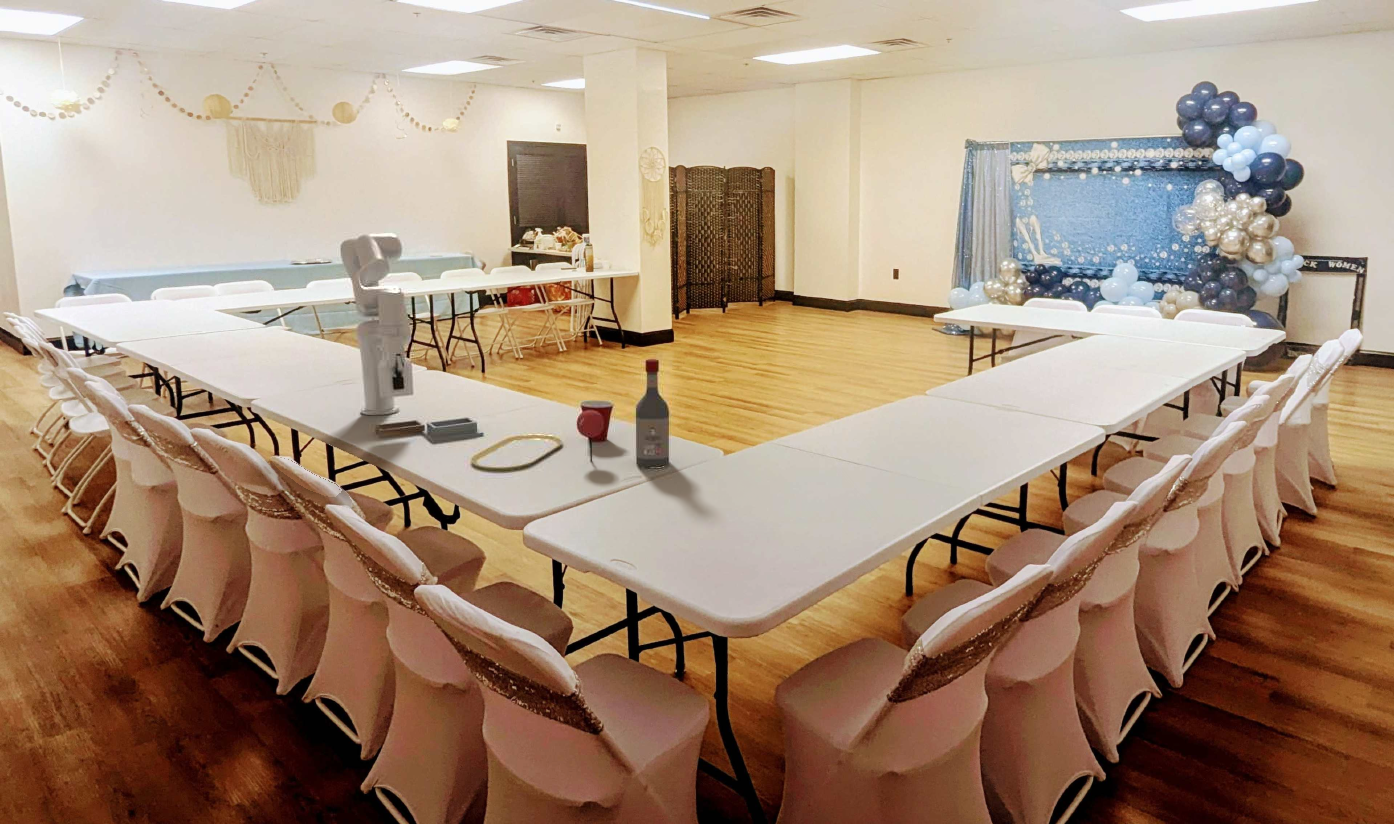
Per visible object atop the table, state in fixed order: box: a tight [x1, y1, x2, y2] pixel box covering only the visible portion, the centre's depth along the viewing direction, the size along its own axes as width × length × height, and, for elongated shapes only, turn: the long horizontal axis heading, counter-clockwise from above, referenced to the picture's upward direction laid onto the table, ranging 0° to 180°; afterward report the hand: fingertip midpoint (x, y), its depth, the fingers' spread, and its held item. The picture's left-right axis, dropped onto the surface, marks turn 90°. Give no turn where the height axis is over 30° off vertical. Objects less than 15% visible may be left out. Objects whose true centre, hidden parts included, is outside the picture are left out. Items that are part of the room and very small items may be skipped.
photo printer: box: [378, 357, 414, 398], centre depth 283 cm, size 10×4×12 cm, turn 123°
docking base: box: [421, 416, 484, 444], centre depth 285 cm, size 12×16×4 cm
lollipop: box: [576, 410, 604, 462], centre depth 258 cm, size 8×8×15 cm
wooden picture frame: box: [374, 419, 426, 439], centre depth 287 cm, size 8×14×2 cm, turn 122°
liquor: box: [635, 358, 670, 469], centre depth 254 cm, size 9×9×30 cm
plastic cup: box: [579, 399, 615, 443], centre depth 281 cm, size 11×11×12 cm
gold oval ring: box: [470, 433, 563, 471], centre depth 267 cm, size 19×35×2 cm, turn 163°
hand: (396, 386), depth 284 cm, fingers closed on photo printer, 4 cm apart
